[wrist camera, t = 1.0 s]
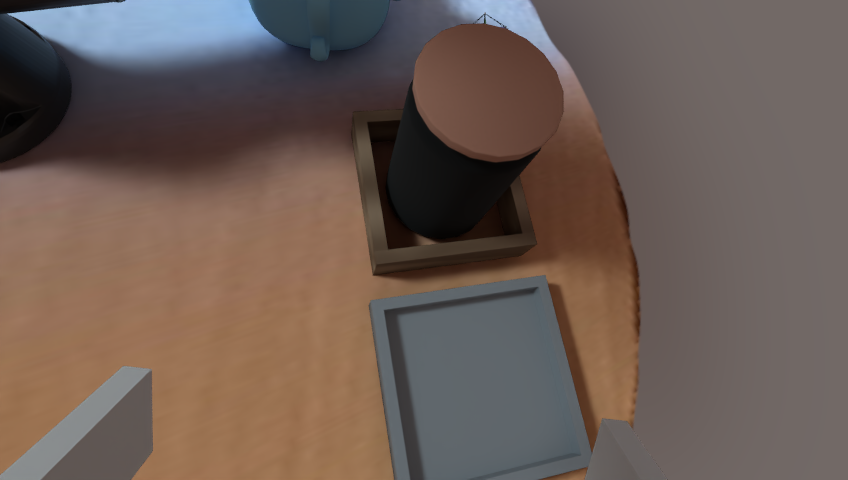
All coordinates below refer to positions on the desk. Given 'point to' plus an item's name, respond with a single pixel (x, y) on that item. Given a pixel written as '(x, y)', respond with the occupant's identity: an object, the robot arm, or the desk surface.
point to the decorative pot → (322, 22)
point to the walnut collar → (427, 256)
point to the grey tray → (477, 384)
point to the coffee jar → (469, 127)
